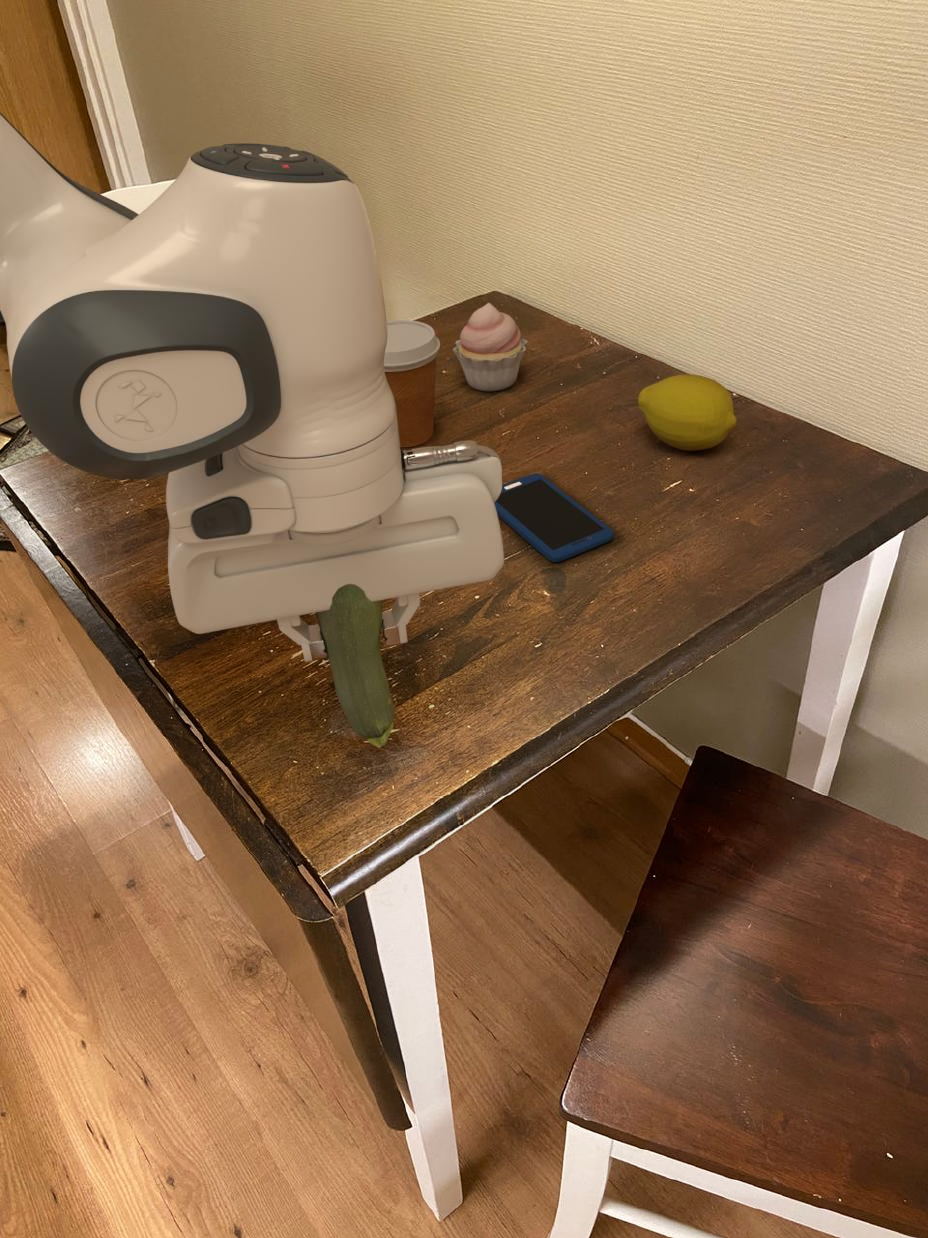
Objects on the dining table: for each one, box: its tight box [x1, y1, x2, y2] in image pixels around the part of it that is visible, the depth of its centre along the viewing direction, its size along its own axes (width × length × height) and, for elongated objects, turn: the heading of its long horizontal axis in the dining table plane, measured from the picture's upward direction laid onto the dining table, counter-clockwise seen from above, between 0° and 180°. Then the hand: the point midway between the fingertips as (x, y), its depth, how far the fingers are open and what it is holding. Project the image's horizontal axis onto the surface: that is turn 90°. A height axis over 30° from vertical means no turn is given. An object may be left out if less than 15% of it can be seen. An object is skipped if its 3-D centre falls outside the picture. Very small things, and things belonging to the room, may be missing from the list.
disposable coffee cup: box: [384, 319, 441, 448], centre depth 100 cm, size 10×10×12 cm
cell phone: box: [494, 473, 615, 563], centre depth 88 cm, size 7×14×1 cm, turn 30°
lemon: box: [637, 374, 738, 452], centre depth 95 cm, size 11×8×8 cm
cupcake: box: [452, 302, 529, 392], centre depth 109 cm, size 9×9×10 cm
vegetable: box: [315, 584, 396, 749], centre depth 58 cm, size 4×4×20 cm
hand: (354, 646), depth 59 cm, fingers closed on vegetable, 4 cm apart
